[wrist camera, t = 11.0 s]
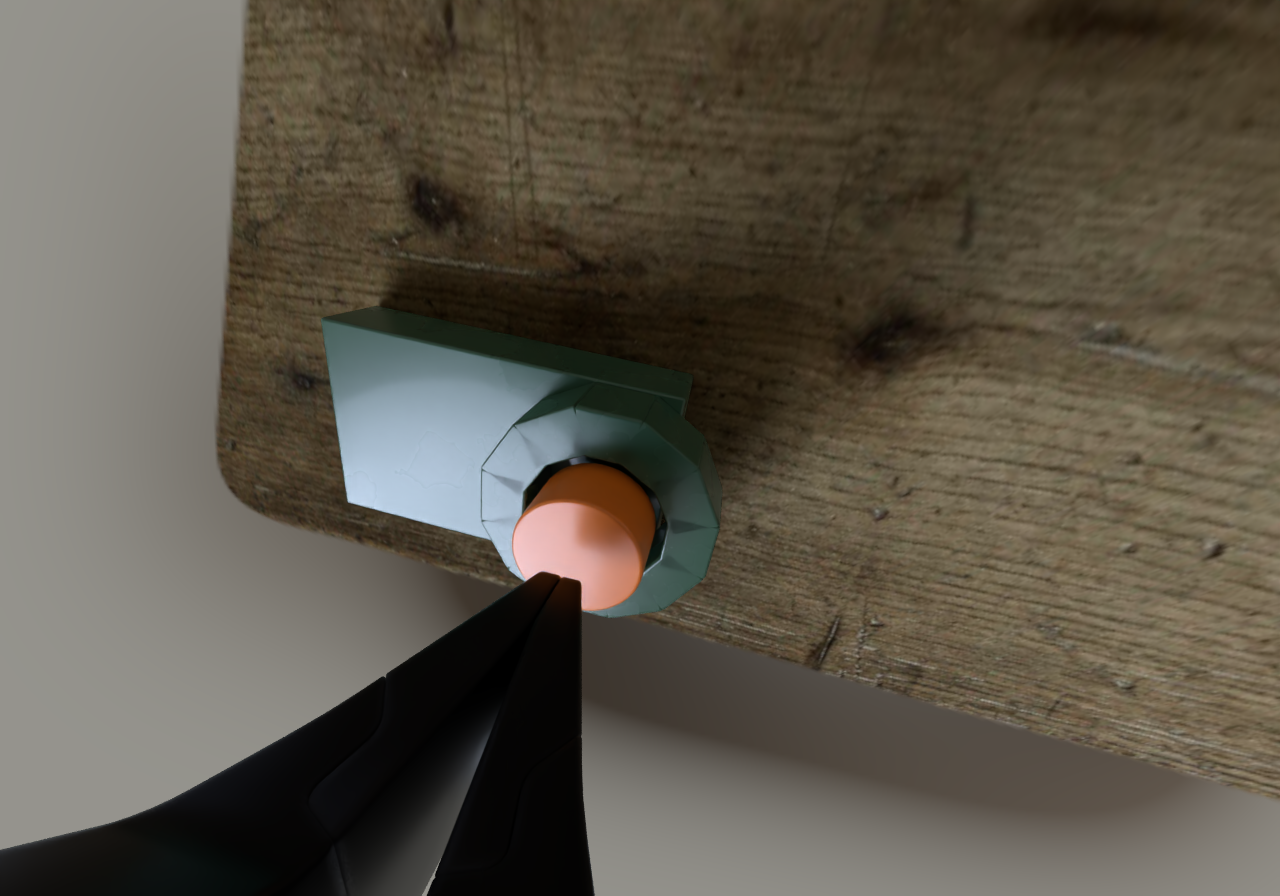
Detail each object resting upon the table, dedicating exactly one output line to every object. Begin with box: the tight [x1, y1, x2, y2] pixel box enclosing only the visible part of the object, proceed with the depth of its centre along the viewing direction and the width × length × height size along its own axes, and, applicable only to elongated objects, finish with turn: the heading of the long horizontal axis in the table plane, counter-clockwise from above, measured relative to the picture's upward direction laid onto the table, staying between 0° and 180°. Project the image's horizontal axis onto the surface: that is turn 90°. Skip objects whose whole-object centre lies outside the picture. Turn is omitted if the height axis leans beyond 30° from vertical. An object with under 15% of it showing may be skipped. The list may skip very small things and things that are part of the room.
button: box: [512, 463, 656, 611], centre depth 11 cm, size 3×3×2 cm
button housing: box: [321, 306, 722, 618], centre depth 14 cm, size 12×6×4 cm, turn 81°
